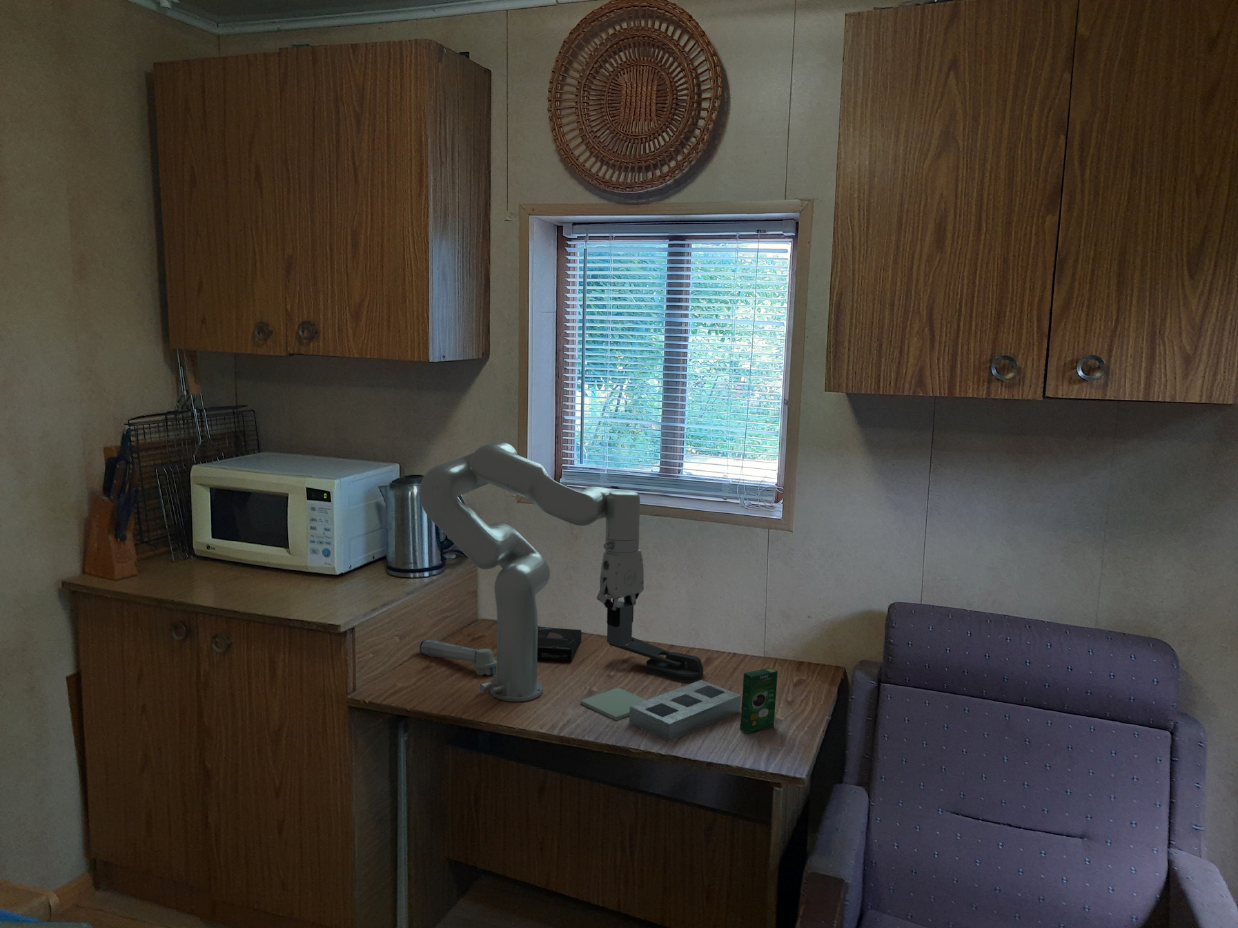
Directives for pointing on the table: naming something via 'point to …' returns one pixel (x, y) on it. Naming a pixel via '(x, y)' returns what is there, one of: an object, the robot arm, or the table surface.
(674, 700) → the block with square holes
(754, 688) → the coffee box
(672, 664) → the zipper pull
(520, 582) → the robot arm
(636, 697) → the mat
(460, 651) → the grey long angled piece
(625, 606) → the square insert
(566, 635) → the portable cd player
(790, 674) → the table surface
